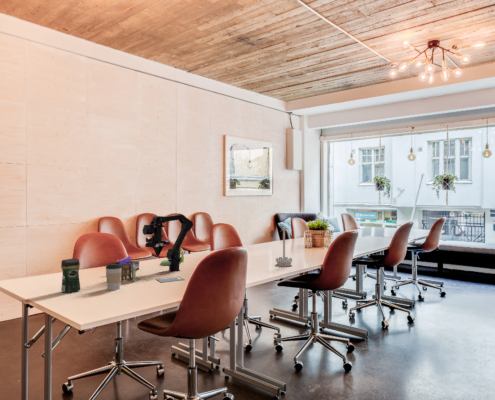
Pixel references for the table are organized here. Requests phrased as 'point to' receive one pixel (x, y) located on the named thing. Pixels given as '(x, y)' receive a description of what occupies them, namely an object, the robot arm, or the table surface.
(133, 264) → the sage fence section
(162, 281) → the card
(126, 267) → the walnut fence section
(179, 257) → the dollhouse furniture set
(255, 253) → the table surface
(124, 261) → the toy sofa
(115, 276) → the coffee cup
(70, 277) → the coffee jar
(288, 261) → the flag stand
